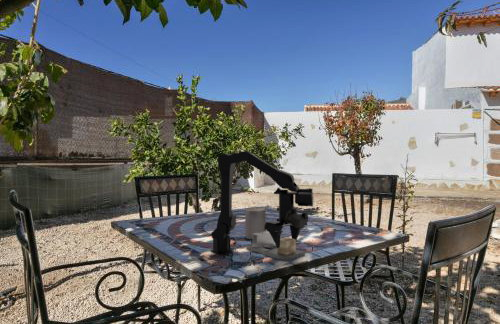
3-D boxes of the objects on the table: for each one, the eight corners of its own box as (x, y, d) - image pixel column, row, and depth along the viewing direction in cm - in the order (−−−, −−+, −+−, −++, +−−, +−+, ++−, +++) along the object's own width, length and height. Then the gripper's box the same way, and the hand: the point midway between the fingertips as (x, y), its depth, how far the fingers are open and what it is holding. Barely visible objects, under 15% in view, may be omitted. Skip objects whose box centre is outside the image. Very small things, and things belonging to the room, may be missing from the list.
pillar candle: (255, 234, 178) (255, 203, 177) (270, 237, 171) (269, 205, 170) (241, 237, 171) (240, 206, 171) (255, 241, 164) (255, 208, 164)
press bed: (285, 261, 133) (285, 256, 133) (245, 249, 150) (245, 245, 150) (304, 255, 140) (304, 251, 140) (264, 244, 157) (264, 240, 157)
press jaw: (257, 247, 145) (256, 235, 145) (252, 246, 147) (252, 233, 147) (274, 243, 152) (274, 231, 152) (269, 241, 154) (269, 230, 154)
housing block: (286, 254, 136) (286, 241, 136) (277, 252, 140) (277, 239, 140) (295, 252, 139) (295, 239, 139) (286, 249, 143) (286, 237, 143)
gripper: (285, 210, 127) (285, 254, 127) (318, 205, 139) (318, 245, 140) (263, 207, 135) (263, 248, 136) (296, 202, 148) (296, 240, 148)
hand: (286, 245), depth 140 cm, fingers open, 9 cm apart
